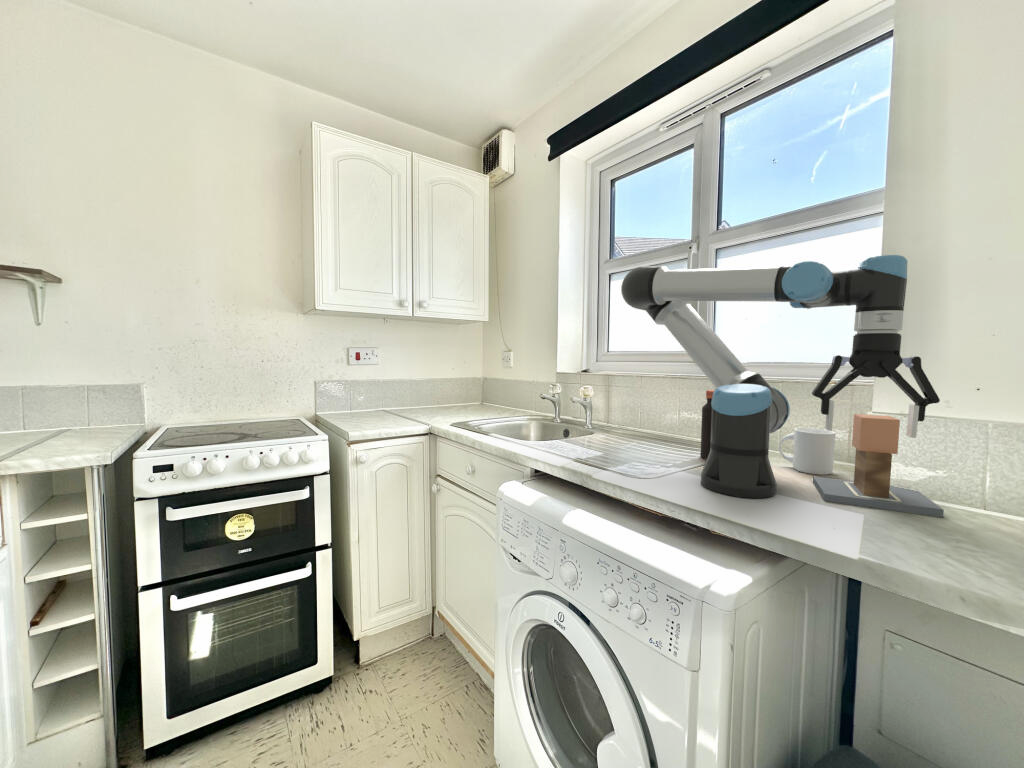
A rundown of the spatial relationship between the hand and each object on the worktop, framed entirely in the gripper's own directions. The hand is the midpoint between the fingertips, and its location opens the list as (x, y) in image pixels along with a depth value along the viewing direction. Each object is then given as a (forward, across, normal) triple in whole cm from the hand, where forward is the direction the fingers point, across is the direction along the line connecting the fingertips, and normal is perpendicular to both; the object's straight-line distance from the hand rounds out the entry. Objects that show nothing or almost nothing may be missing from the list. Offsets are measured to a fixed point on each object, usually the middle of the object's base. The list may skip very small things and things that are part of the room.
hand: (868, 433), depth 87 cm
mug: (+14, -8, +20) cm, 25 cm away
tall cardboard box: (+12, +1, 0) cm, 12 cm away
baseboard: (+14, +1, 0) cm, 14 cm away
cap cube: (+3, +1, 0) cm, 3 cm away
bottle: (+15, -30, +20) cm, 39 cm away
